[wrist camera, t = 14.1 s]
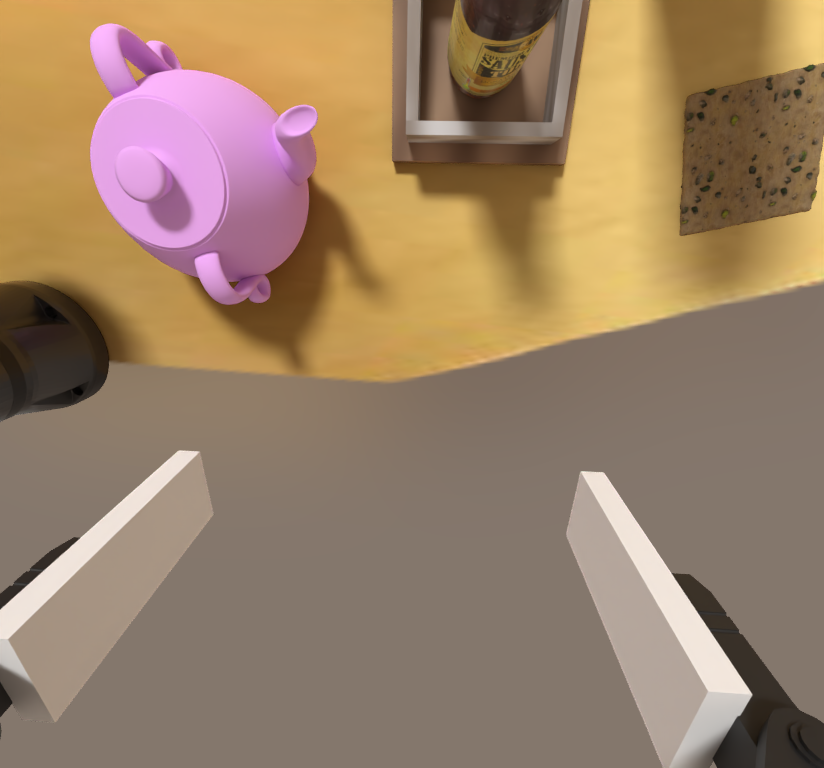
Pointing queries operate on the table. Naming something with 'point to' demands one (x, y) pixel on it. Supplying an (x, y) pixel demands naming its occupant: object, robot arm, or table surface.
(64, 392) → the robot arm
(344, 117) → the table surface
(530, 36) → the sauce bottle
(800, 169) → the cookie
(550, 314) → the table surface
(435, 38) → the grey square tray
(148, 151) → the teapot
